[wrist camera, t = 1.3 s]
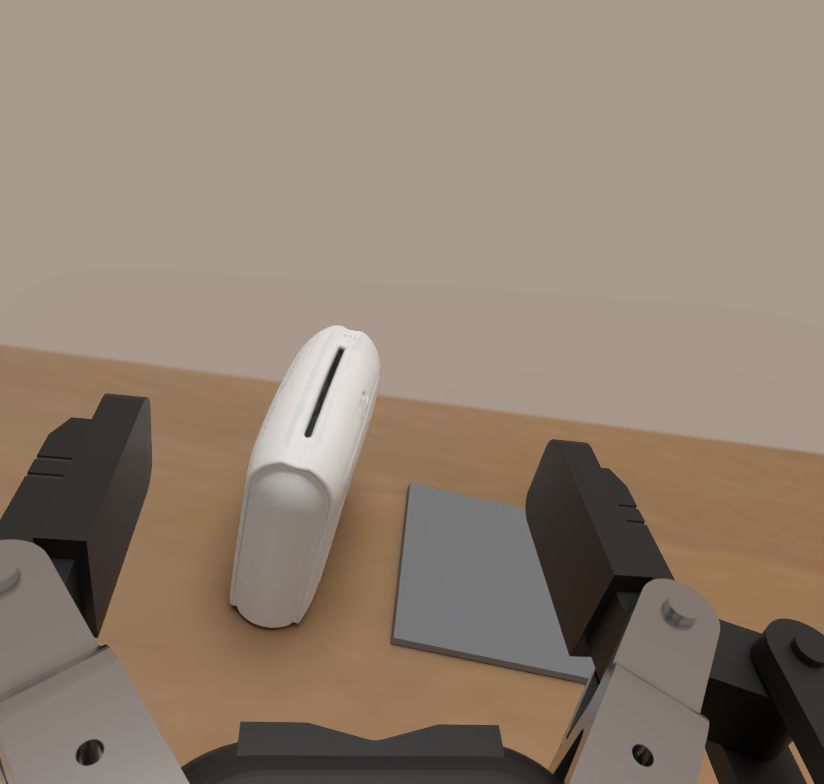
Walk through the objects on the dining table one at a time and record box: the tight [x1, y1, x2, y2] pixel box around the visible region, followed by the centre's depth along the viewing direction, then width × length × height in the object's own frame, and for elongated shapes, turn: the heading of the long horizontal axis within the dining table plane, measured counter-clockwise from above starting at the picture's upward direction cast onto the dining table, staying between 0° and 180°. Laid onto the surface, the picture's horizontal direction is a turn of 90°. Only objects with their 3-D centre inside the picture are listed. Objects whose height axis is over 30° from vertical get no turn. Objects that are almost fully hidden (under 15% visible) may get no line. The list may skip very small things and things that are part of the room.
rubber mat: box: [391, 482, 595, 684], centre depth 37 cm, size 12×10×1 cm
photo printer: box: [230, 326, 380, 628], centre depth 31 cm, size 10×4×12 cm, turn 171°
